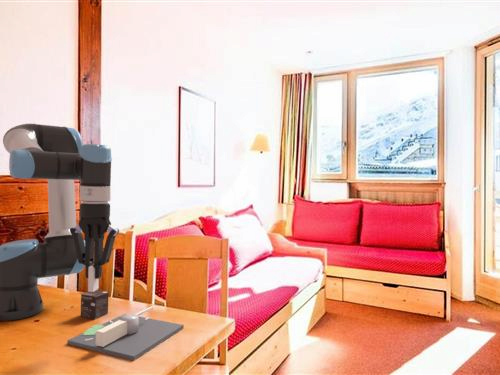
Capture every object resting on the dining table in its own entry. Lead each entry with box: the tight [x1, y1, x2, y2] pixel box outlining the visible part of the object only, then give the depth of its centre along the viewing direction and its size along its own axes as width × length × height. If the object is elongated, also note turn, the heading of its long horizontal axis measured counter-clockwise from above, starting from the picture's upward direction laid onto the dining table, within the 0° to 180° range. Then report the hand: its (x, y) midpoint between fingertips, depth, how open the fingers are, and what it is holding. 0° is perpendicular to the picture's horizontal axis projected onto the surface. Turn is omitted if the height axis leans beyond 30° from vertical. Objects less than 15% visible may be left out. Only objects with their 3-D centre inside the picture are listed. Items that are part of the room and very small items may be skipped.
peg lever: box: [96, 305, 154, 347], centre depth 102 cm, size 21×5×4 cm, turn 158°
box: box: [80, 289, 109, 320], centre depth 118 cm, size 6×6×7 cm
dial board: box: [67, 313, 185, 361], centre depth 103 cm, size 23×22×1 cm
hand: (93, 290), depth 98 cm, fingers closed
